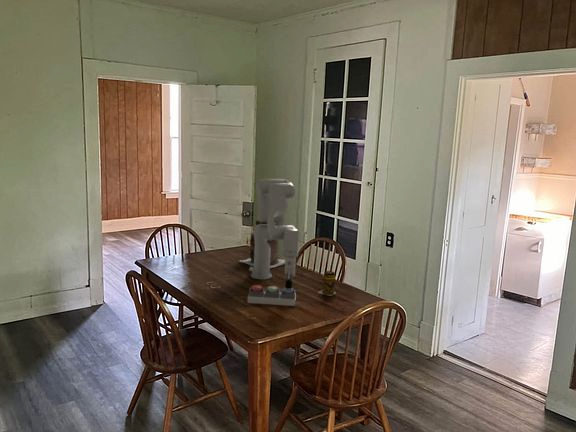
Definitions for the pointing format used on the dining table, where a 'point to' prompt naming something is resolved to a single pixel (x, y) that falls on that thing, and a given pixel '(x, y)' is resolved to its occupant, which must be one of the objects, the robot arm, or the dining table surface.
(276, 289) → the sage button
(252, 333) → the dining table surface
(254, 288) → the red button
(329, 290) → the condiment
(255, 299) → the button housing
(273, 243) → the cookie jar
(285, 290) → the blue button
